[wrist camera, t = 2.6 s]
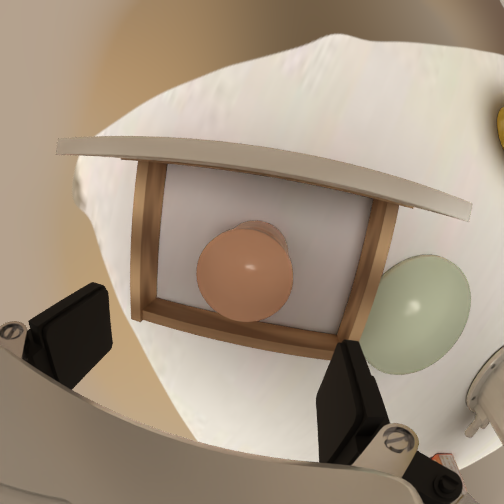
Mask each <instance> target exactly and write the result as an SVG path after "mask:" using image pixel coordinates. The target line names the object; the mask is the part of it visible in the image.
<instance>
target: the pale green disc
mask: <svg viewBox="0 0 504 504" xmlns="http://www.w3.org/2000/svg"><path fill="white" fill-rule="evenodd" d="M470 304H471V295H470V288H469V284H468V281H467V279H466V277H465V275H464V273H463V272H462V271H461V270H460V268H458V267H457V266H456V265H455V264H453V263H452V262H450V261H448V260H447V259H445V258H442V257H440V256H435V255H420V256H415V257H412V258H409V259H406V260H404V261H402V262H400V263H398V264H397V265H395V266H394V267H392V268H391V269H390V270H388V271H387V272H386V273H385V274H384V275H383V276H382V277H381V280H380V283H379V286H378V290H377V293H376V296H375V299H374V302H373V305H372V308H371V311H370V314H369V317H368V319H367V322H366V325H365V328H364V330H363V333H362V336H361V338H360V341H359V343H360V346H361V349H362V351H363V354H364V356H365V358H366V359H367V361H368V362H369V363H370V364H371V365H372V366H373V367H374V368H376V369H378V370H379V371H382V372H384V373H388V374H394V375H404V374H410V373H414V372H417V371H420V370H423V369H425V368H427V367H429V366H430V365H432V364H434V363H435V362H437V361H438V360H439V359H441V358H442V357H443V356H444V355H445V354H446V353H447V352H448V351H449V350H450V349H451V348H452V347H453V345H454V344H455V343H456V341H457V340H458V338H459V337H460V335H461V333H462V331H463V329H464V327H465V325H466V322H467V319H468V316H469V311H470Z"/></svg>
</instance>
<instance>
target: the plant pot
mask: <svg viewBox="0 0 504 504" xmlns="http://www.w3.org/2000/svg"><path fill="white" fill-rule="evenodd" d="M497 129H498V135H499V139H500V142H501V145H502V147H503V149H504V107H503V108H501V110H500V111H499V113H498V117H497Z"/></svg>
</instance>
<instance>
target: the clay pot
mask: <svg viewBox="0 0 504 504" xmlns="http://www.w3.org/2000/svg"><path fill="white" fill-rule="evenodd" d="M196 275H197V282H198V287H199V289H200V292H201V294H202V296H203V298H204V299H205V300H206V302H207V303H208V304H209V305H210V306H211V307H212V308H213V309H214V310H215V311H216V312H218V313H219V314H221V315H223V316H225V317H227V318H229V319H232V320H236V321H242V322H253V321H259V320H262V319H265V318H268V317H270V316H272V315H273V314H275V313H276V312H277V311H278V310H280V309H281V308H282V306H283V305H284V304H285V303H286V301H287V299H288V297H289V295H290V293H291V290H292V285H293V269H292V264H291V260H290V258H289V255H288V247H287V243H286V240H285V238H284V237H283V235H282V234H281V232H280V231H279V230H278V229H277V228H275V227H274V226H273V225H271V224H269V223H266V222H263V221H247V222H244V223H242V224H240V225H238V226H237V227H235V228H234V229H231V230H228V231H226V232H223V233H221V234H220V235H218V236H217V237H215V238H214V239H213V240H212V241H211V242H209V244H208V245H207V246H206V247H205V248H204V250H203V251H202V253H201V255H200V257H199V260H198V264H197V274H196Z"/></svg>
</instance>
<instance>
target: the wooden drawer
mask: <svg viewBox="0 0 504 504" xmlns="http://www.w3.org/2000/svg"><path fill="white" fill-rule="evenodd" d="M56 155H84V156H102V157H116V158H121V160H134V161H138V166H137V174H136V183H135V193H134V204H133V216H132V233H131V261H130V295H131V319H132V320H136V321H139V322H141V321H142V320H146V321H149V322H152V323H156V324H159V325H162V326H166V327H169V328H173V329H177V330H180V331H184V332H188V333H191V334H195V335H199V336H203V337H207V338H211V339H216V340H220V341H224V342H229V343H233V344H238V345H242V346H247V347H252V348H257V349H262V350H267V351H273V352H278V353H284V354H290V355H296V356H303V357H309V358H316V359H324V360H331V358H332V356H333V353H334V350H335V348H336V345H337V343H338V342H340V343H342V341H343V340H344V339H346V340H354V341H360V338H361V336H362V333H363V330H364V328H365V325H366V322H367V319H368V317H369V314H370V311H371V308H372V305H373V302H374V299H375V296H376V293H377V290H378V286H379V283H380V280H381V277H382V273H383V270H384V266H385V263H386V259H387V255H388V252H389V248H390V244H391V240H392V236H393V231H394V227H395V223H396V218H397V213H398V209H399V205H401V206H405V207H409V208H412V209H413V207H416V208H420V209H424V210H428V211H432V212H435V213H439V214H443V215H446V216H450V217H454V218H457V219H460V220H464V221H467V222H469V220H470V215H471V209H472V203H470V202H468V201H465V200H463V199H460V198H457V197H455V196H452V195H450V194H447V193H444V192H441V191H439V190H436V189H433V188H430V187H427V186H424V185H421V184H418V183H415V182H412V181H409V180H406V179H403V178H399V177H396V176H393V175H389V174H386V173H382V172H379V171H375V170H371V169H368V168H364V167H360V166H356V165H352V164H348V163H344V162H340V161H335V160H331V159H326V158H322V157H317V156H312V155H307V154H302V153H296V152H291V151H285V150H279V149H273V148H267V147H260V146H253V145H246V144H238V143H230V142H221V141H211V140H200V139H187V138H171V137H146V136H99V137H78V138H77V137H76V138H61V139H58V142H57V150H56ZM167 164H178V165H187V166H197V167H205V168H213V169H221V170H228V171H236V172H242V173H249V174H255V175H262V176H268V177H274V178H279V179H285V180H290V181H296V182H301V183H306V184H311V185H316V186H321V187H325V188H330V189H335V190H339V191H343V192H348V193H352V194H356V195H360V196H365V197H369V198H373V204H372V209H371V213H370V218H369V223H368V227H367V232H366V236H365V240H364V244H363V248H362V252H361V256H360V260H359V264H358V268H357V271H356V275H355V279H354V282H353V286H352V289H351V293H350V296H349V299H348V302H347V306H346V309H345V312H344V315H343V318H342V321H341V324H340V327H339V330H338V333H337V335H334V334H327V333H321V332H315V331H308V330H302V329H296V328H291V327H285V326H280V325H274V324H269V323H264V322H259V321H253V322H242V321H236V320H232V319H229V318H227V317H225V316H223V315H221V314H219V313H216V312H212V311H207V310H203V309H199V308H195V307H191V306H187V305H183V304H179V303H175V302H171V301H167V300H163V299H160V298H156V296H157V268H158V250H159V236H160V223H161V213H162V203H163V194H164V185H165V177H166V170H167Z"/></svg>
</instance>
